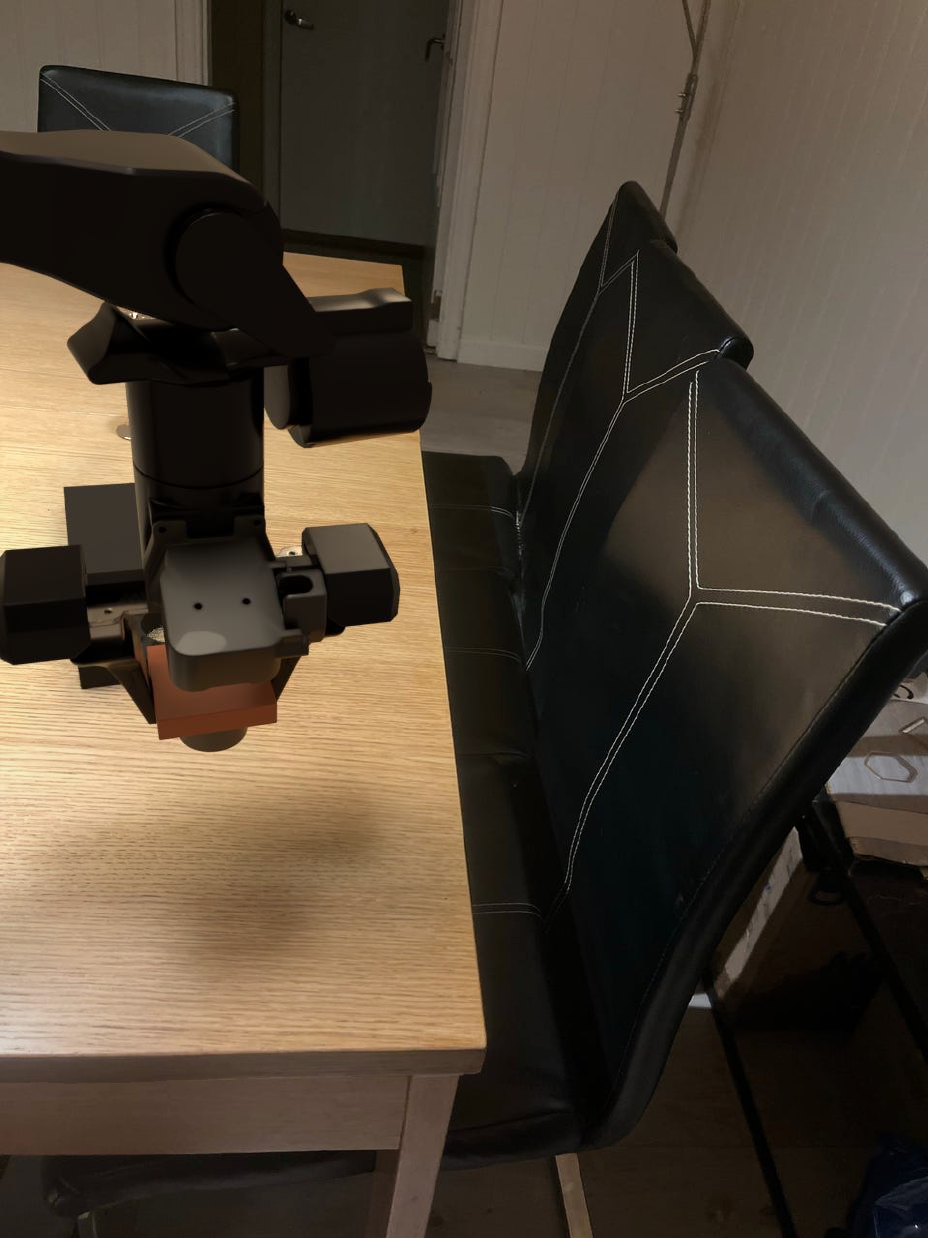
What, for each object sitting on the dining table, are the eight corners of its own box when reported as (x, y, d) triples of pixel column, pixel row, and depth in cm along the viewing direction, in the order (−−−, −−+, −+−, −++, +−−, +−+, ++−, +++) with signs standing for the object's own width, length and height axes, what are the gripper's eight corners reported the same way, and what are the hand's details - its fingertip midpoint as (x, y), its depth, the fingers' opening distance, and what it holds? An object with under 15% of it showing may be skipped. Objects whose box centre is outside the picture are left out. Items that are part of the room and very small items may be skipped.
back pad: (276, 666, 70) (276, 646, 69) (81, 693, 65) (78, 672, 64) (220, 495, 89) (219, 477, 88) (66, 505, 84) (63, 486, 83)
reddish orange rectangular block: (162, 776, 48) (157, 721, 45) (151, 700, 52) (146, 646, 50) (276, 757, 50) (277, 703, 47) (257, 686, 54) (257, 633, 52)
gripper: (-46, 579, 32) (24, 861, 41) (452, 537, 38) (416, 788, 48) (-30, 434, 40) (26, 697, 49) (380, 420, 46) (360, 654, 56)
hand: (211, 710), depth 50 cm, fingers closed on reddish orange rectangular block, 6 cm apart
